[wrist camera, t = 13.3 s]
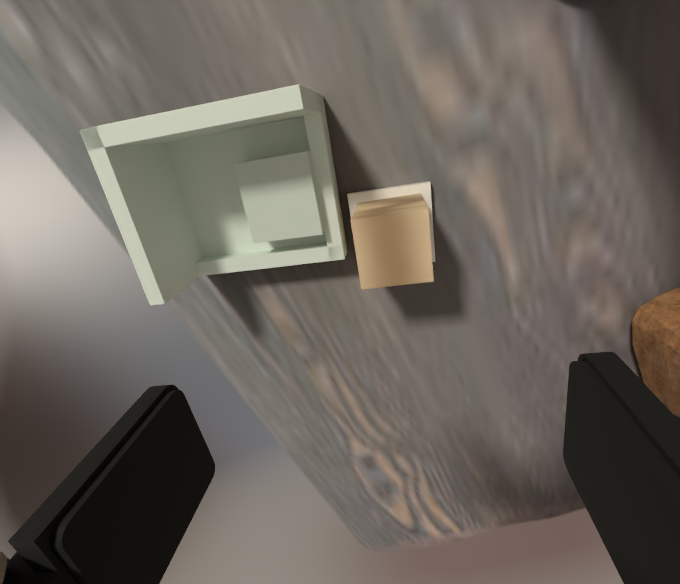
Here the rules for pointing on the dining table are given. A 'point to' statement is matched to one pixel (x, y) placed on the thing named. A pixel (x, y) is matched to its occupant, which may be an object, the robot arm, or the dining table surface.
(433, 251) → the cream tile
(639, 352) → the bread
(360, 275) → the oak block
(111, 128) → the pale grey angled piece
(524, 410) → the dining table surface
